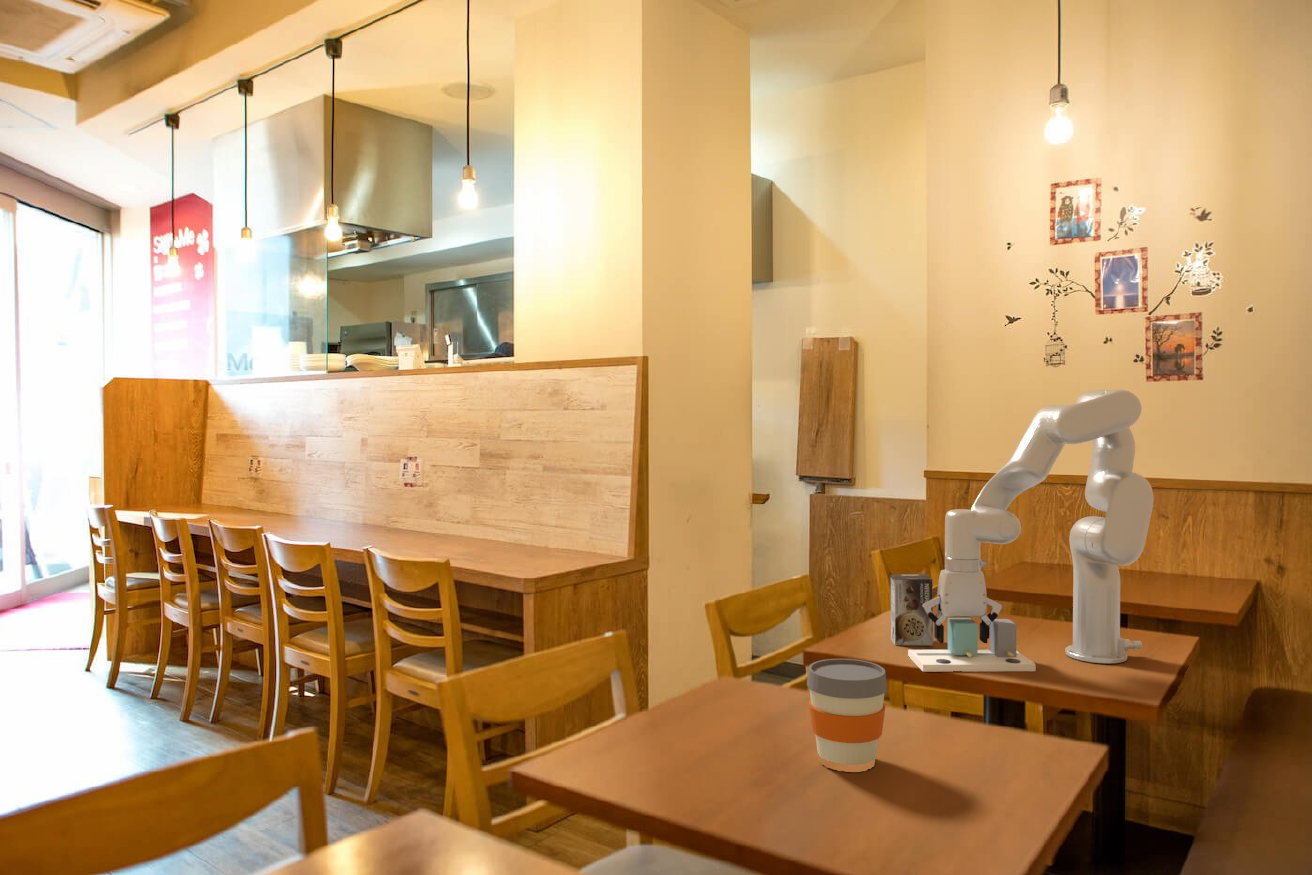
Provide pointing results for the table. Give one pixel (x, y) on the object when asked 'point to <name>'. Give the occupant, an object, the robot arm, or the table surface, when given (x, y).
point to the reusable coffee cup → (847, 709)
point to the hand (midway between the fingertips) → (961, 641)
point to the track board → (992, 659)
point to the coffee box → (911, 609)
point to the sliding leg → (962, 636)
